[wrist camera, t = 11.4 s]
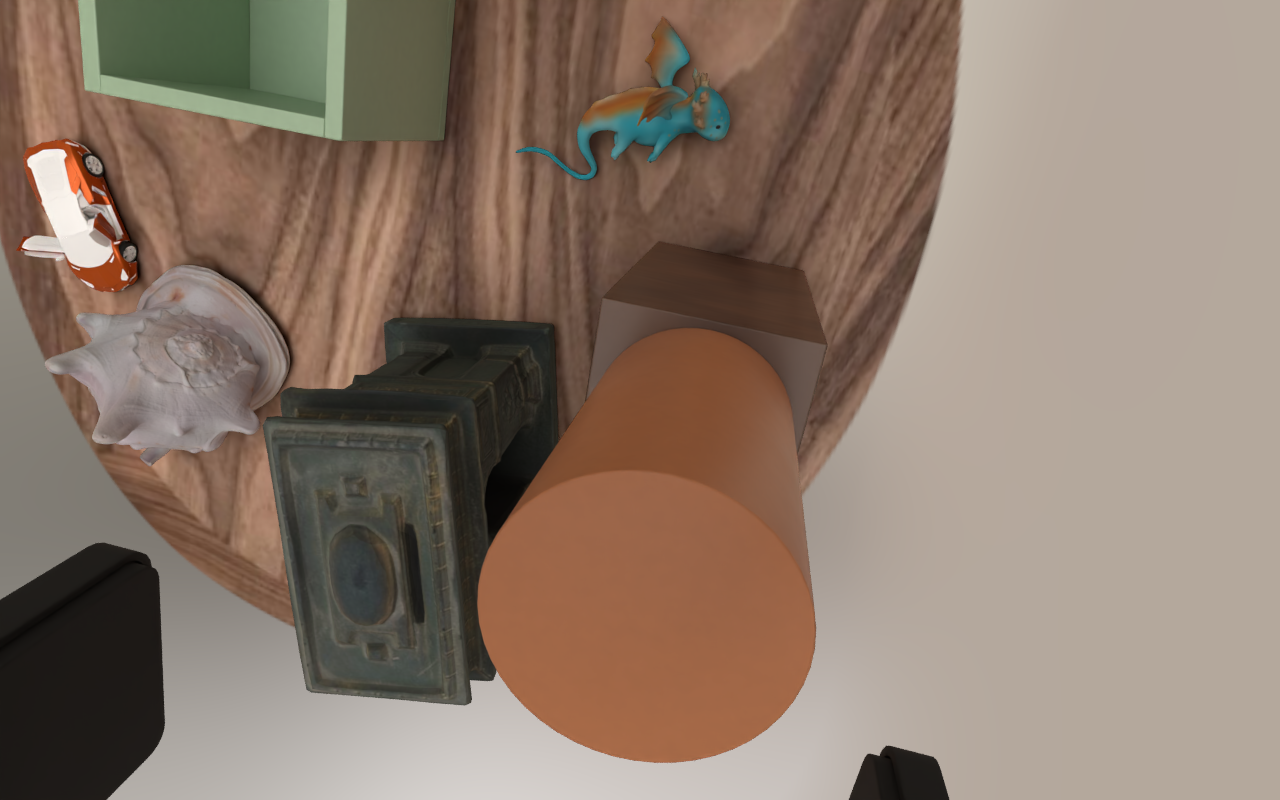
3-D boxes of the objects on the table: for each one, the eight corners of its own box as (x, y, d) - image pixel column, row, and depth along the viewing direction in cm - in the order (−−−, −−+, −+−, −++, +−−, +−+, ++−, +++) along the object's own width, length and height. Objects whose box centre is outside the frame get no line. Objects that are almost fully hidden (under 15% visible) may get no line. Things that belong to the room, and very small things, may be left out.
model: (571, 550, 43) (481, 746, 29) (421, 543, 45) (266, 727, 31) (555, 315, 39) (439, 414, 25) (388, 315, 40) (190, 409, 26)
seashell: (334, 355, 42) (221, 413, 33) (235, 498, 46) (111, 582, 37) (183, 233, 41) (24, 259, 32) (96, 390, 45) (-65, 451, 36)
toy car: (86, 297, 43) (36, 308, 40) (27, 150, 41) (-31, 151, 38) (165, 282, 42) (119, 292, 39) (108, 130, 40) (56, 129, 37)
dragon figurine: (640, 271, 37) (748, 153, 31) (502, 195, 34) (595, 50, 28) (648, 188, 41) (745, 71, 35) (526, 114, 38) (611, -26, 32)
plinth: (804, 270, 36) (828, 344, 23) (769, 408, 39) (773, 545, 26) (658, 241, 37) (601, 297, 24) (633, 378, 40) (569, 497, 26)
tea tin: (816, 351, 24) (858, 517, 13) (766, 535, 26) (769, 798, 16) (609, 308, 24) (495, 434, 14) (578, 491, 26) (461, 717, 16)
